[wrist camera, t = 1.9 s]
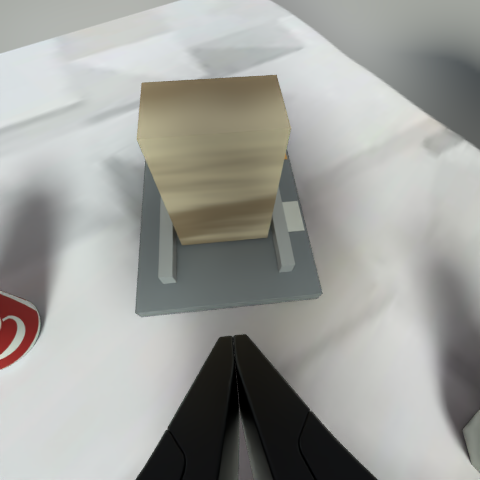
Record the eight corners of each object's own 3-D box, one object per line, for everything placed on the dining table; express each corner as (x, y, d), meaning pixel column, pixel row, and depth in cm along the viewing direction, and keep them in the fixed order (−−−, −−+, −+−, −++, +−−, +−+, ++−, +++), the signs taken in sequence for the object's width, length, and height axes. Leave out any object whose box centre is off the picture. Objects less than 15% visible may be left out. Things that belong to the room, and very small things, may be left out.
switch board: (317, 298, 22) (328, 287, 19) (141, 317, 21) (127, 308, 18) (273, 113, 32) (276, 89, 29) (152, 121, 31) (144, 97, 28)
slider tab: (267, 237, 22) (290, 128, 12) (181, 245, 22) (136, 138, 12) (260, 197, 24) (276, 74, 14) (181, 204, 24) (141, 82, 14)
